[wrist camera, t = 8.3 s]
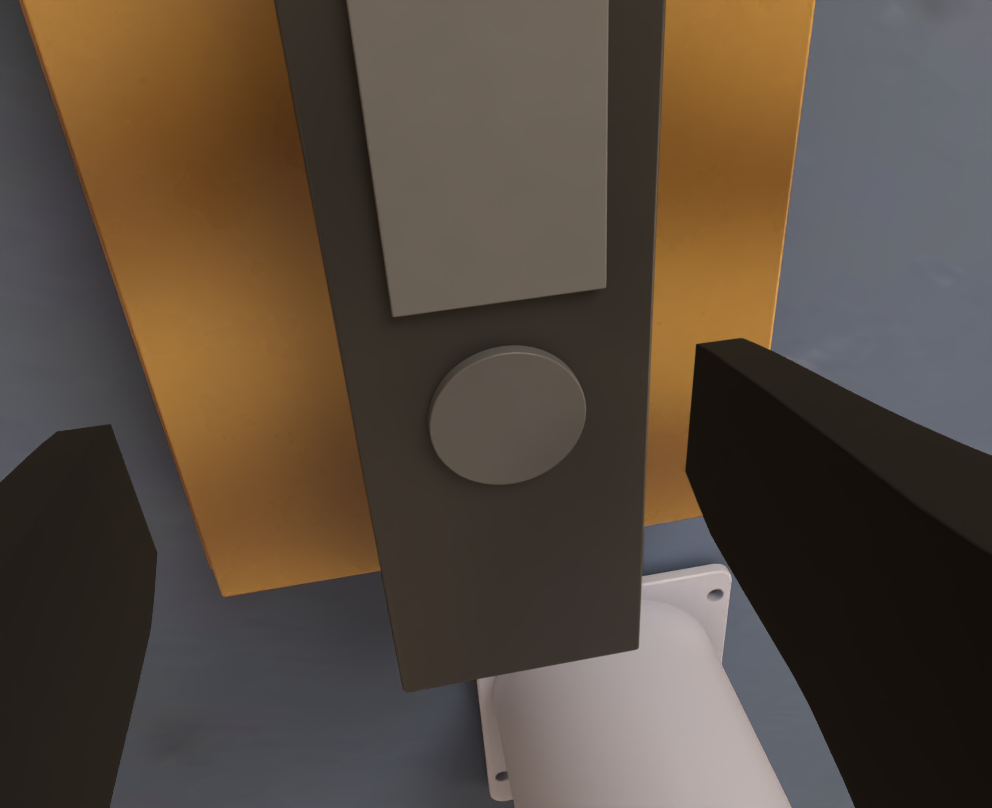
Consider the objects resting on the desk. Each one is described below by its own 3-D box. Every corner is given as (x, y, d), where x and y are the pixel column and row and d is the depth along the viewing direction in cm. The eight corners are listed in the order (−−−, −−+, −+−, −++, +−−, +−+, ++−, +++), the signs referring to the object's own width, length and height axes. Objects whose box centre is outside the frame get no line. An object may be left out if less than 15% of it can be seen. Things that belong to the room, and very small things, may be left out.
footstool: (706, 426, 24) (769, 522, 21) (219, 503, 22) (203, 619, 19) (787, -505, 14) (936, -608, 11) (-84, -472, 12) (-227, -581, 9)
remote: (593, 534, 20) (644, 660, 17) (390, 568, 19) (404, 704, 16) (593, -325, 11) (693, -380, 8) (233, -304, 11) (204, -356, 8)
